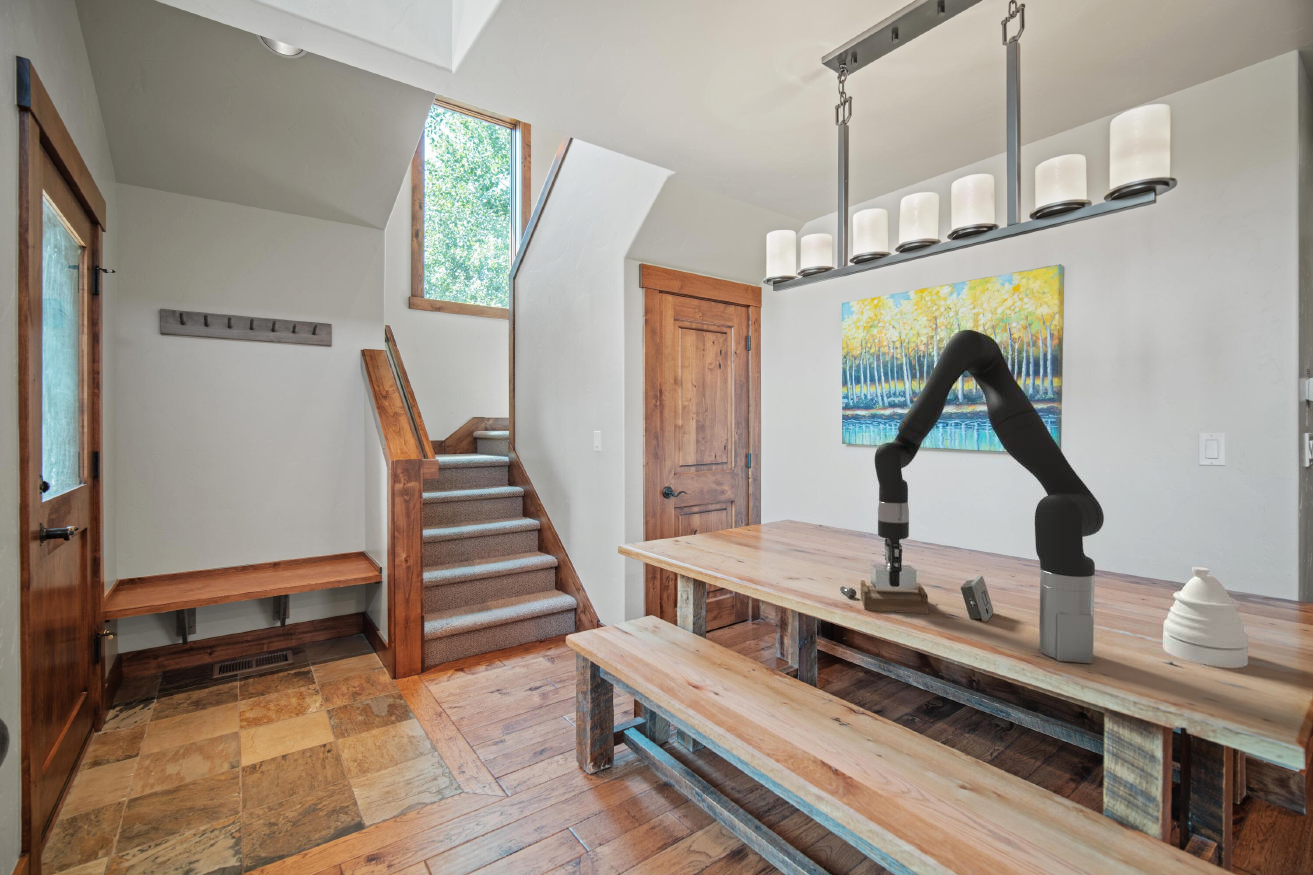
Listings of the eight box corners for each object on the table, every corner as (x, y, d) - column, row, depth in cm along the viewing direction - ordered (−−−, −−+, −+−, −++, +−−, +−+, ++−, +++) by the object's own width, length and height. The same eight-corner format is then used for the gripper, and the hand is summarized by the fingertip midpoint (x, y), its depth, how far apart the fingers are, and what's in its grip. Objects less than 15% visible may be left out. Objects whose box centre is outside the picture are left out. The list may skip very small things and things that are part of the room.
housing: (916, 589, 154) (916, 567, 154) (875, 588, 155) (875, 566, 155) (909, 583, 159) (909, 562, 159) (870, 582, 160) (870, 561, 160)
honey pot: (1226, 672, 114) (1229, 578, 114) (1149, 648, 126) (1150, 563, 126) (1261, 660, 120) (1263, 571, 119) (1183, 639, 131) (1185, 557, 131)
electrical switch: (986, 623, 143) (982, 584, 143) (962, 620, 146) (959, 582, 146) (994, 613, 150) (990, 575, 150) (971, 611, 153) (967, 574, 153)
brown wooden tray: (928, 613, 150) (928, 595, 149) (864, 609, 153) (864, 592, 153) (919, 599, 161) (919, 582, 161) (860, 595, 165) (860, 579, 165)
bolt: (856, 598, 163) (856, 588, 163) (847, 598, 163) (847, 588, 163) (847, 591, 169) (847, 582, 169) (838, 592, 169) (838, 582, 169)
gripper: (913, 524, 149) (912, 591, 149) (904, 514, 162) (904, 576, 163) (881, 523, 150) (880, 589, 151) (875, 513, 164) (874, 574, 165)
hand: (893, 582), depth 157 cm, fingers closed on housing, 6 cm apart
